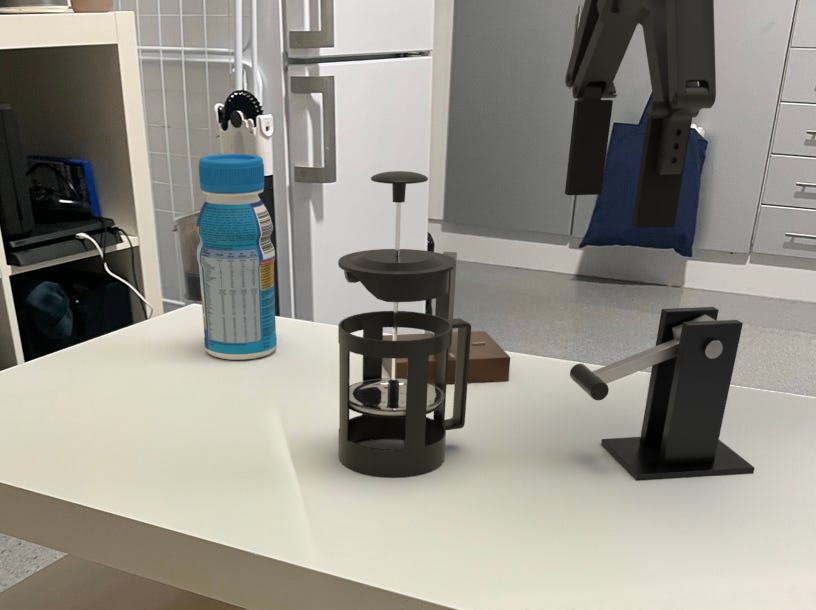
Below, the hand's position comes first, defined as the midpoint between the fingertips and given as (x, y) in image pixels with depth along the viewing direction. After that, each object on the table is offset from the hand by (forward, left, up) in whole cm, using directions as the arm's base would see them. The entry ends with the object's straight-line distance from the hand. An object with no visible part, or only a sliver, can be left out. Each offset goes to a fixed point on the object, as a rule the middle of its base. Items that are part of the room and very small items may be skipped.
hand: (615, 209), depth 74 cm
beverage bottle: (+26, -40, -21) cm, 52 cm away
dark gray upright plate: (+5, -30, -18) cm, 35 cm away
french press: (+15, -4, -21) cm, 26 cm away
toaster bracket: (-8, 0, -21) cm, 22 cm away
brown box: (+5, -30, -21) cm, 37 cm away
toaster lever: (-5, 0, -12) cm, 13 cm away
